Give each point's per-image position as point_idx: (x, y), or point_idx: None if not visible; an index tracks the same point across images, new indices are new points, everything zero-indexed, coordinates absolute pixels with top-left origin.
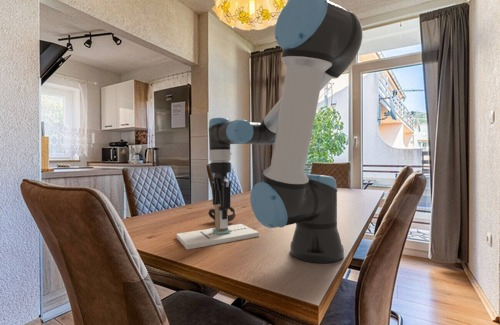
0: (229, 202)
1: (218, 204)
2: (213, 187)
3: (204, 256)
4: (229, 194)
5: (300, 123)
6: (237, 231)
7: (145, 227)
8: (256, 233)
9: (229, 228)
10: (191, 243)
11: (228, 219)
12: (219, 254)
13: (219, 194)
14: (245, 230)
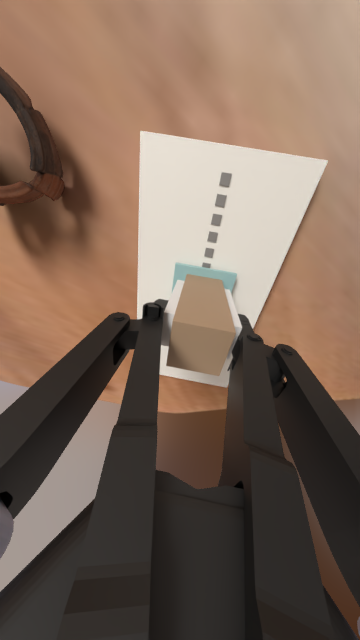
0: (311, 380)
1: (179, 355)
2: (56, 460)
3: (285, 377)
4: (356, 445)
5: None
6: (234, 239)
7: (26, 370)
8: (317, 178)
9: (177, 239)
10: (225, 379)
11: (52, 158)
12: (305, 357)
13: (227, 441)
14: (250, 200)
